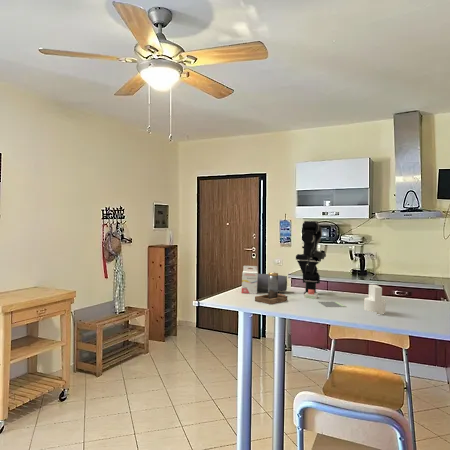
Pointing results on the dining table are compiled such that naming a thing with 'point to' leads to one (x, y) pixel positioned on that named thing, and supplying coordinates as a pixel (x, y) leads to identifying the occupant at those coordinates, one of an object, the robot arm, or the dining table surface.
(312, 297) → the white square base
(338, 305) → the grey flat panel
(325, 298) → the dining table surface
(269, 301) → the wooden tray
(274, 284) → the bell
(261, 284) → the bluetooth speaker
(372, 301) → the base with upright slab
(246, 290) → the ink cartridge box
